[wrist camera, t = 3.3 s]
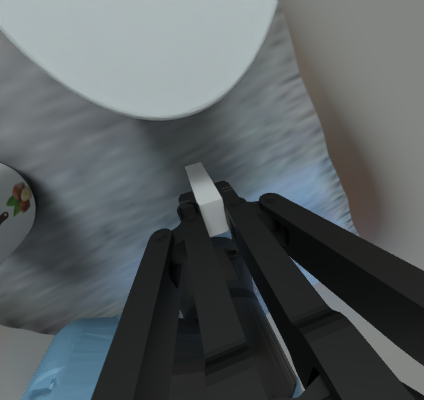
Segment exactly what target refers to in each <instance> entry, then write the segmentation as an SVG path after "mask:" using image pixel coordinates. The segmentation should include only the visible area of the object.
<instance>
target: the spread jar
mask: <svg viewBox="0 0 424 400" xmlns="http://www.w3.org/2000/svg"><path fill="white" fill-rule="evenodd" d="M36 211H37V196H36V193H35V190H34V188H33V187H32V185H31V184H30V182H29V181H28V180H27V179H26V178H25V177H24V176H23V175H22V174H21V173H20V172H18V171H17V170H16V169H14V168H12V167H10V166H8V165H6V164H3V163H1V162H0V265H1V264H2V263H3V262H4V261H5V260H6V259H7V258H8V257H9V256H10V255H11V254H12V253H13V252H14V250H15V249H16V248H17V247H18V246H19V245H20V244H21V243H22V241H23V240H24V239H25V237H26V236H27V234H28V233H29V231H30V229H31V228H32V225H33V222H34V219H35V216H36Z"/></svg>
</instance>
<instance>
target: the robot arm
mask: <svg viewBox="0 0 424 400" xmlns="http://www.w3.org/2000/svg"><path fill="white" fill-rule="evenodd" d="M185 169H186V172H187V175H188V178H189V181H190V184H191V187H192V190H193V191H191V192H187V193H184V194H181V195H180V197H179V203H180V206H179V207H178V208H177V213H178V215H179V218H180V220H181V223H180V225H179V226H178V227H176V228H175V229H173V230H172V231H170V230H169V229H160V230H158V231H156V232H154V233H153V234H152V235H151V237H150V238H149V241H148V244H147V247H146V249H145V252H144V255H143V258H142V260H141V263H140V266H139V268H138V271H137V274H136V277H135V279H134V282H133V285H132V288H131V290H130V293H129V296H128V299H127V301H126V304H125V307H124V310H123V312H122V315H116V316H114V317H102V318H83V319H78V320H75V321H73V322H71V323H69V324H68V325H66V326H65V327H64V328H62V329H61V330H60V331H59V332H58V333H57V335H56V336H55V337H54V339H53V340H52V342H51V344H50V346H49V347H48V349H47V351H46V353H45V355H44V357H43V359H42V360H41V362H40V364H39V366H38V368H37V370H36V372H35V373H34V375H33V377H32V379H31V381H30V383H29V385H28V387H27V389H26V391H25V392H24V394H23V397H22V398H21V400H424V395H422V394H420V393H419V392H417V391H415V390H414V389H412V388H411V387H409V386H407V385H406V384H404V383H402V382H401V381H399V379H398V378H397V377H396V376H395V375H394V373H393V372H392V371H391V370H390V368H389V367H388V366H387V365H386V364H385V362H384V361H383V360H382V359H381V358H380V356H379V355H378V354H377V353H376V351H375V350H374V349H373V348H372V347H371V345H370V344H369V343H368V342H367V341H366V339H365V338H364V337H363V336H362V335H361V334H360V332H359V331H358V330H357V329H356V327H355V326H354V325H353V324H352V323H351V322H350V321H349V320H348V318H347V317H345V316H344V315H343V314H342V313H340V312H337V311H334V310H332V309H331V308H330V307H329V306H328V305H327V304H326V303H325V301H324V300H323V299H322V298H321V296H320V295H319V294H318V293H317V291H316V290H315V289H314V288H313V286H312V285H311V284H310V282H309V281H308V280H307V278H306V277H305V276H304V275H303V273H302V272H301V271H300V269H299V268H298V267H297V266H296V264H295V263H294V262H293V261H292V259H293V260H295V261H296V262H297V263H298V264H299V265H301V266H302V267H303V268H304V269H305V270H307V271H308V272H309V273H310V274H311V275H313V276H314V277H315V278H316V279H317V280H319V281H320V282H321V283H322V284H324V285H325V286H326V287H327V288H328V289H329V290H331V291H332V292H333V293H334V294H335V295H337V296H338V297H339V298H340V299H342V300H343V301H344V302H345V303H346V304H347V305H349V306H350V307H351V308H352V309H353V310H355V311H356V312H357V313H358V314H360V315H361V316H362V317H363V318H364V319H365V320H367V321H368V322H369V323H370V324H372V325H373V326H374V327H375V328H376V329H378V330H379V331H380V332H381V333H382V334H383V335H385V336H386V337H387V338H388V339H390V340H391V341H392V342H393V343H394V344H395V345H397V346H398V347H399V348H401V349H402V350H403V351H405V352H406V353H407V354H408V355H410V356H411V357H412V358H413V359H415V360H416V361H418V362H419V363H420V364H422V365H423V366H424V271H423V270H421V269H419V268H417V267H415V266H413V265H411V264H410V263H408V262H406V261H404V260H402V259H400V258H398V257H396V256H394V255H393V254H391V253H389V252H387V251H385V250H383V249H381V248H379V247H377V246H375V245H373V244H372V243H370V242H368V241H366V240H364V239H362V238H360V237H358V236H356V235H355V234H353V233H351V232H349V231H347V230H345V229H343V228H341V227H339V226H337V225H336V224H334V223H332V222H330V221H328V220H326V219H324V218H322V217H320V216H318V215H317V214H315V213H313V212H311V211H309V210H307V209H305V208H303V207H301V206H299V205H298V204H296V203H294V202H292V201H290V200H288V199H286V198H284V197H282V196H281V195H279V194H276V193H266V194H263V195H262V196H260V198H259V201H255V202H246V200H245V199H243V198H240V197H238V195H237V194H236V193H235V191H234V190H233V189H232V187H231V186H230V185H229V183H228V182H226V181H220V182H217V183H214V184H213V182H212V180H211V178H210V177H209V175H208V173H207V172H206V170H205V168H204V166H203V165H202V163H201V162H198V163H195V164H192V165H189V166H185ZM228 226H229V227H228ZM229 228H230V230H231V235H232V239H228V238H223V237H214V238H210V237H213V236H215V235H218V234H221V233H224V232H227V231H229ZM289 256H290V257H291V258H292V259H291V258H290V257H289ZM252 278H253V280H254V282H255V284H256V286H257V288H258V290H259V292H260V294H261V296H262V298H263V300H264V302H265V304H266V306H267V308H268V310H269V312H270V314H271V316H272V318H273V320H274V322H275V324H276V326H277V328H278V330H279V332H280V334H281V336H282V338H283V340H284V342H285V344H286V346H287V348H288V351H289V353H290V355H291V358H292V361H293V364H294V367H295V369H296V372H297V374H298V376H299V378H300V380H301V382H302V384H303V387H304V388H305V391H304V392H302V389H301V387H300V382H299V380H298V378H297V377H296V375H295V373H294V371H293V369H292V367H291V366H290V363H289V361H288V359H287V357H286V355H285V354H284V351H283V349H282V347H281V345H280V343H279V341H278V340H277V337H276V335H275V333H274V331H273V329H272V327H271V325H270V323H269V321H268V319H267V317H266V315H265V313H264V311H263V309H262V307H261V305H260V303H259V301H258V299H257V297H256V295H255V293H254V289H253V283H252ZM179 310H181V312H182V314H183V317H184V318H179Z"/></svg>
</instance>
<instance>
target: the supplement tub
mask: <svg viewBox="0 0 424 400" xmlns="http://www.w3.org/2000/svg"><path fill="white" fill-rule="evenodd" d="M278 1H279V0H0V30H1V31H2V32H3V34H4V35H5V36H6V37H7V38H8V39H9V40H10V41H11V42H12V43H13V44H14V45H15V46H16V47H17V48H18V49H19V50H20V51H21V52H22V53H23V54H24V55H25V56H26V57H27V58H29V59H30V60H31V61H32V62H33V63H34V64H35V65H36V66H37V67H38V68H40V69H41V70H42V71H43V72H45V73H46V74H47V75H49V76H50V77H51V78H52V79H54V80H55V81H57V82H58V83H59V84H61V85H62V86H64V87H65V88H67V89H68V90H70V91H71V92H73V93H74V94H76V95H78V96H79V97H81V98H83V99H84V100H86V101H88V102H90V103H92V104H94V105H96V106H99V107H101V108H103V109H106V110H108V111H111V112H113V113H116V114H119V115H123V116H126V117H131V118H136V119H142V120H153V121H165V120H174V119H180V118H184V117H188V116H191V115H194V114H196V113H199V112H201V111H203V110H205V109H207V108H209V107H210V106H212V105H214V104H215V103H217V102H218V101H220V100H221V99H222V98H223V97H225V96H226V95H227V94H228V93H229V92H230V91H231V90H232V89H233V88H234V87H235V86H236V85H237V84H238V83H239V82H240V80H241V79H242V78H243V77H244V75H245V74H246V73H247V71H248V70H249V68H250V67H251V66H252V64H253V62H254V61H255V59H256V57H257V55H258V53H259V52H260V50H261V48H262V46H263V44H264V42H265V39H266V37H267V34H268V32H269V30H270V27H271V24H272V21H273V18H274V15H275V12H276V9H277V5H278Z"/></svg>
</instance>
